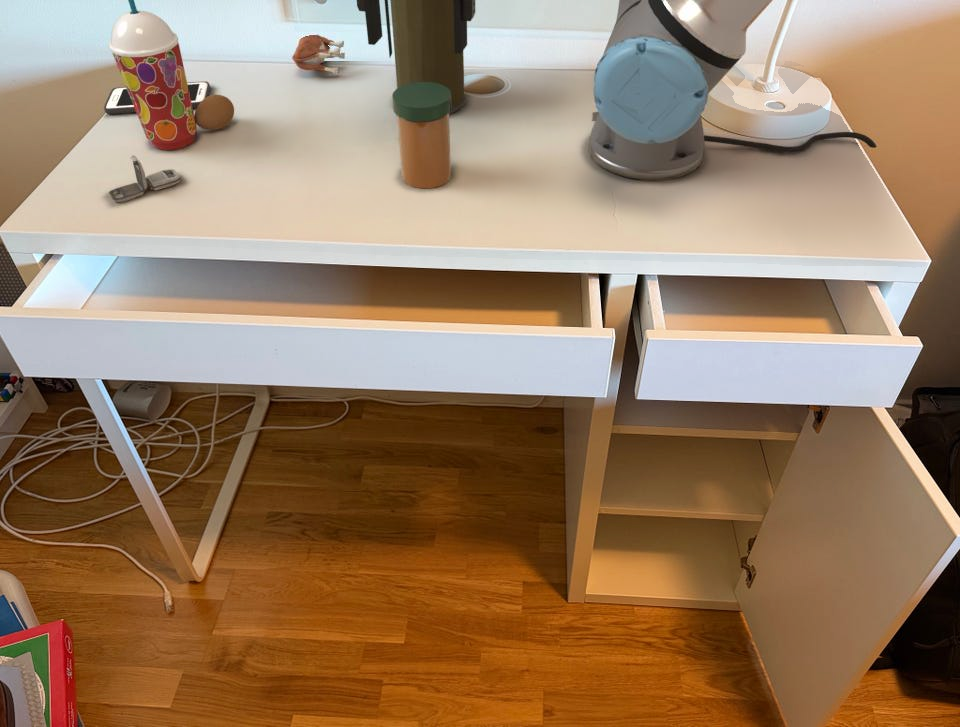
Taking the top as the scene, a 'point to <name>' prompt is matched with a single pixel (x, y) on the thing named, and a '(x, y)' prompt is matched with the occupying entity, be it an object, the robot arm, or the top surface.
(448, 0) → the canister
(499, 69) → the top surface
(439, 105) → the lid
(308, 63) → the bull figurine
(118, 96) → the cell phone
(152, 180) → the strap clip
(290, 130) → the top surface
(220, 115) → the egg
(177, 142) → the smoothie
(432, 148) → the jar
